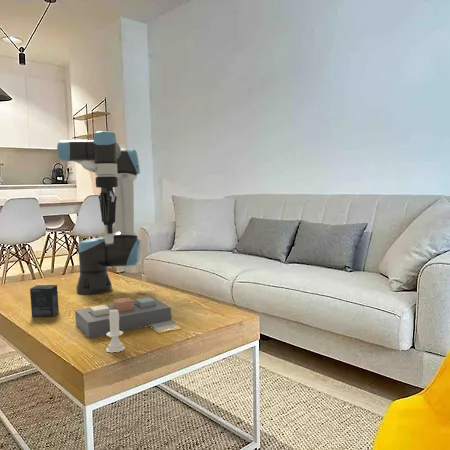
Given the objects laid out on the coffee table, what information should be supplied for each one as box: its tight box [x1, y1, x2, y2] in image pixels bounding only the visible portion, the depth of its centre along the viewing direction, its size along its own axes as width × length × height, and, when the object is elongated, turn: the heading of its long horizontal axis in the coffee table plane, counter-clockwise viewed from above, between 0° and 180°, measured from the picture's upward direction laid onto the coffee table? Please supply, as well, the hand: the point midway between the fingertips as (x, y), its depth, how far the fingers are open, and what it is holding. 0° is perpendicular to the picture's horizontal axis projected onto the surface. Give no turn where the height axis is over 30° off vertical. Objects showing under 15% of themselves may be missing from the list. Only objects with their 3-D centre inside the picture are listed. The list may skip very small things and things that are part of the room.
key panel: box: [74, 297, 172, 339], centre depth 149 cm, size 16×28×5 cm, turn 123°
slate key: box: [135, 297, 155, 308], centre depth 153 cm, size 5×5×4 cm
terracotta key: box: [112, 297, 133, 312], centre depth 149 cm, size 5×5×4 cm
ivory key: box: [89, 304, 110, 317], centre depth 144 cm, size 5×5×4 cm
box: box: [29, 284, 60, 318], centre depth 160 cm, size 8×6×11 cm
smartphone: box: [149, 319, 180, 333], centre depth 147 cm, size 8×1×15 cm
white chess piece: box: [105, 309, 126, 354], centre depth 125 cm, size 5×5×12 cm
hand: (109, 242), depth 157 cm, fingers closed
